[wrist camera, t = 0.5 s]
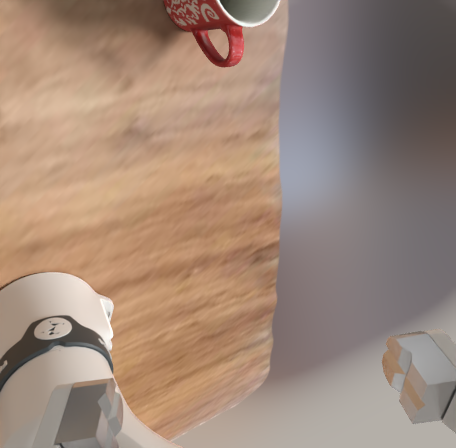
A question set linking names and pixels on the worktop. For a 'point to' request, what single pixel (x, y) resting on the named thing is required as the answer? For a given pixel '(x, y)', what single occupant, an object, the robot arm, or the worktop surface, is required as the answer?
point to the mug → (220, 22)
